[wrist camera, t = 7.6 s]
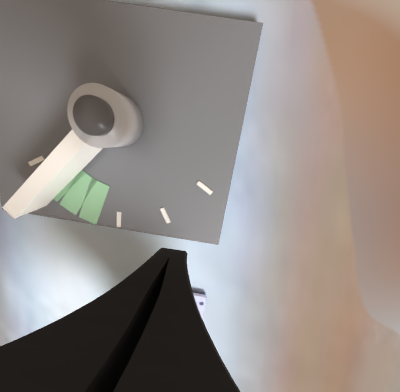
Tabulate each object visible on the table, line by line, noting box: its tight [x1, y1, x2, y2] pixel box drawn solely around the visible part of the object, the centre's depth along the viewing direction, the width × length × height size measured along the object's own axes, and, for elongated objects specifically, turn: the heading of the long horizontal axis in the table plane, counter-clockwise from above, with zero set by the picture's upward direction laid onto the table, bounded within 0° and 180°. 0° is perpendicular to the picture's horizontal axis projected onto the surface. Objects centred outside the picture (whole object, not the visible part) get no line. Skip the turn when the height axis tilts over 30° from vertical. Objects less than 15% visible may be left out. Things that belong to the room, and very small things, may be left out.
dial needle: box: [2, 83, 144, 219], centre depth 15 cm, size 13×4×4 cm, turn 130°
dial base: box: [0, 0, 263, 245], centre depth 16 cm, size 18×22×1 cm
